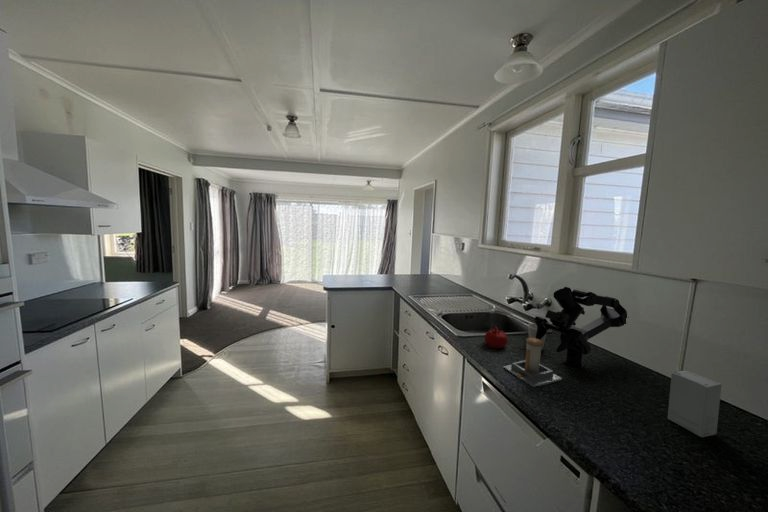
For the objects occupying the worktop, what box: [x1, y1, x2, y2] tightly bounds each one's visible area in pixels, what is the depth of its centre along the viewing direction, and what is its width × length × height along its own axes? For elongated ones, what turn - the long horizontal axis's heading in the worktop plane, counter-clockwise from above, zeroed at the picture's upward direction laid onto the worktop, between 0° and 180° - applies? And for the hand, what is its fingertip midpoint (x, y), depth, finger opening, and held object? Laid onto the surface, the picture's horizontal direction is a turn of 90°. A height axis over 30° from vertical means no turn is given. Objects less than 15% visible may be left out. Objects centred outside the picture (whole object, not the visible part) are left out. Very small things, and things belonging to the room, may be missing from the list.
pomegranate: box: [484, 326, 509, 349], centre depth 131 cm, size 10×10×9 cm
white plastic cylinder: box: [524, 337, 543, 374], centre depth 107 cm, size 6×5×12 cm
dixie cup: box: [527, 322, 549, 351], centre depth 130 cm, size 8×8×10 cm
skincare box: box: [667, 370, 722, 438], centre depth 81 cm, size 8×6×15 cm
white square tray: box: [502, 359, 563, 388], centre depth 108 cm, size 14×14×3 cm
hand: (545, 346), depth 109 cm, fingers open, 9 cm apart
